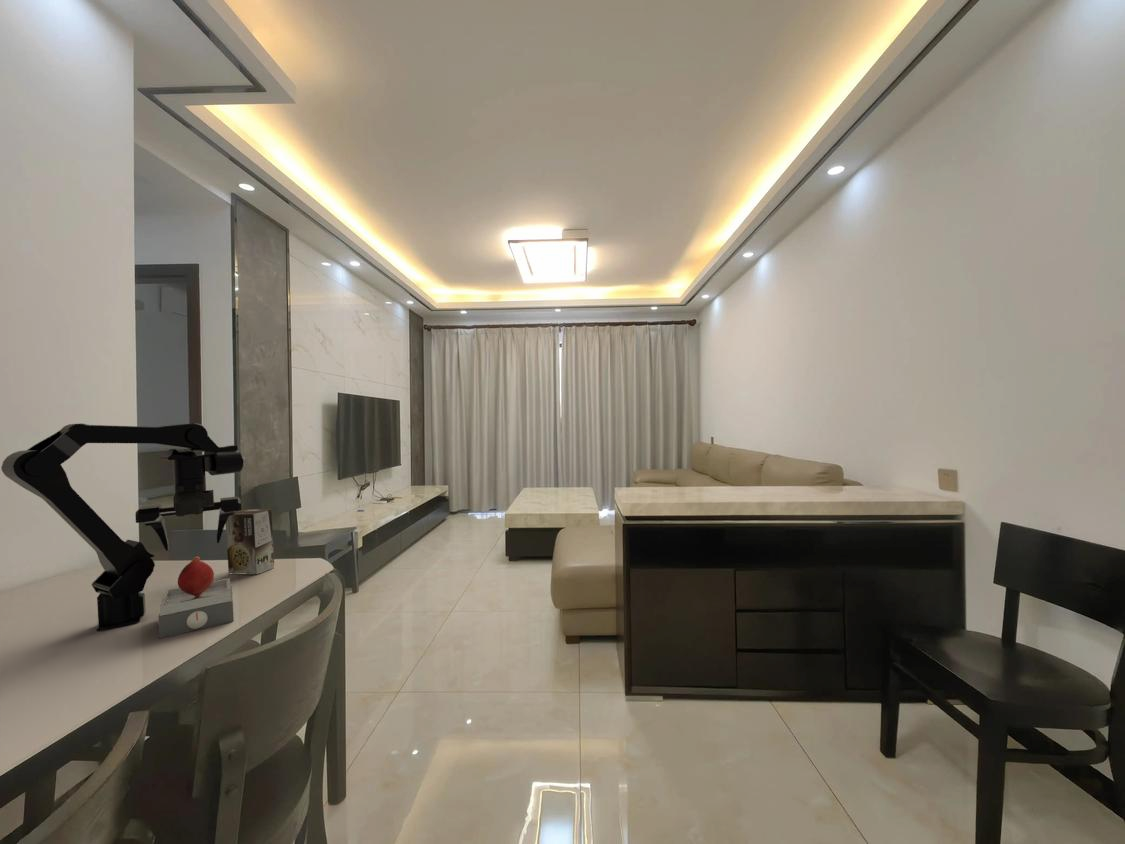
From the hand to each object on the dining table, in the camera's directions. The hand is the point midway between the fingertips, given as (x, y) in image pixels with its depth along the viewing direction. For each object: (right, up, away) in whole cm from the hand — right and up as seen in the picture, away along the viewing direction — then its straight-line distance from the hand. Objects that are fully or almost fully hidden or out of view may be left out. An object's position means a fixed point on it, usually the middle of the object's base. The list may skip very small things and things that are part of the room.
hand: (193, 546), depth 110 cm
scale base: (+10, -12, -12) cm, 20 cm away
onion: (+10, -7, -12) cm, 17 cm away
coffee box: (+1, -12, +20) cm, 23 cm away
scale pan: (+10, -8, -12) cm, 17 cm away
